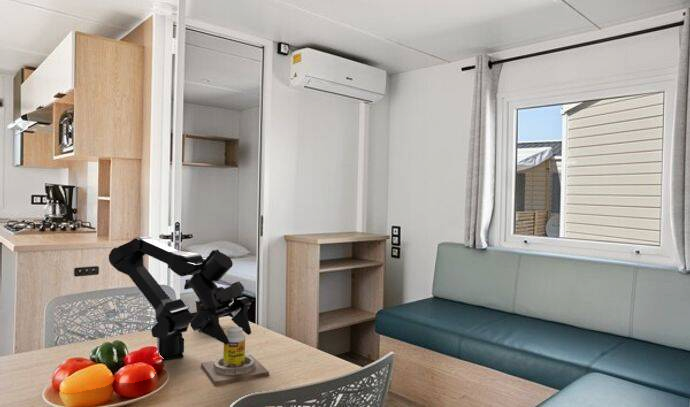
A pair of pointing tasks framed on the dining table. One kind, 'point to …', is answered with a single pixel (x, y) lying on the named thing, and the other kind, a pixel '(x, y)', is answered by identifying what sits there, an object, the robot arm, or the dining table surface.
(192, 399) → the dining table surface
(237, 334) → the supplement bottle
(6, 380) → the dining table surface
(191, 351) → the dining table surface
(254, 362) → the ring stand
